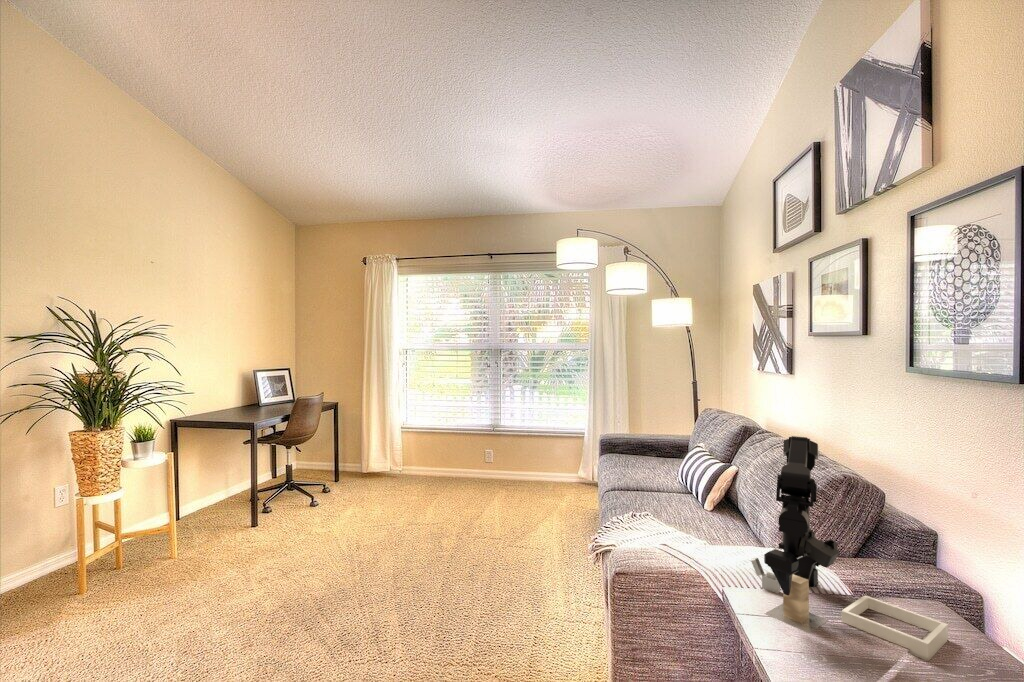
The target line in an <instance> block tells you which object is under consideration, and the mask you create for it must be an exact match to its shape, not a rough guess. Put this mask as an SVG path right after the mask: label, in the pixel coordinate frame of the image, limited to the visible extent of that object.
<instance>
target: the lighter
mask: <svg viewBox="0 0 1024 682" xmlns="http://www.w3.org/2000/svg"><path fill="white" fill-rule="evenodd" d="M750 562H751V564H752V568H753V570H754V571H755V574H756V576H757V577H758V576H759V577H760V576H761V588H762V589H764V590H766V591H767V590H768V591H769V592H772V593H774V594H780V593H781V587H780V585H779V582H778V580H777V578H776V576H775V575H774V573H773V572H769V571H767V572H766V573H765V572H764V569H763V566H762V564H761V562H760V559H759V557H755V558H752V559H751V560H750Z"/></svg>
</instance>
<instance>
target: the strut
mask: <svg viewBox="0 0 1024 682" xmlns="http://www.w3.org/2000/svg"><path fill="white" fill-rule="evenodd" d="M809 592H810V587H809V580H808V579H805V578H802V577H799V576H797V575H794V574H793V575H792V582H791V589H790V594H789V595H785V594H784V593H783V592H782V594H783V595H782V597H783V598H782V599H783V600H782V601H783V602H782V604H783V616H786V617H788V618H790V619H793V620H795V621H797V622H800V623H802V622H804V621H805V620H807V619H808V618H809V612H810V598H809V597H810V593H809Z"/></svg>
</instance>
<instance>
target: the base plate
mask: <svg viewBox="0 0 1024 682" xmlns="http://www.w3.org/2000/svg"><path fill="white" fill-rule="evenodd" d="M764 615H767V616H769V617H771V618H773V619H776V620H777V621H780V622H781V623H784V624H787V625H790V626H791V627H793V628H796V629H798V630H799V631H803V632H805V633H807V634H811V632H813V631H814V630H816V629H818V628H819V627H821V626H822V625H824V624H825V623H827V622H829V620H828V619H827V618H824V617H823V616H820V615H816V614H815V613H812V612H810V611H809V618H808V619H807V620H805V621H804V622H802V623H800V622H797V621H795V620H793V619H790V618H788V617H786V616H783V603H781V604H779V605H777V606H776V607H774V608H772V609H769V610H768V611H767V612H764Z"/></svg>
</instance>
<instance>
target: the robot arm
mask: <svg viewBox="0 0 1024 682" xmlns="http://www.w3.org/2000/svg"><path fill="white" fill-rule="evenodd" d="M782 448H783V451H782V453H783V456H784V457H786V464H785V465H783V466H782V467H781V470H780V474H779V473H778V474H777V477H776V479H777V480H776V496H775V497H776V498H775V501H776V502H781V511H780V514H779V516H778V521H777V522H778V525H779V526H778V531H779V532H781V534H782V535H781V538H782V540H781V542H780V543H778V548H779V549H776V548H774V549H772V550H770V551H767V552H766V553H764V555H763V562H764V564H765V565H767V567H769V568H770V569H771V571H772V573H773V574H774V575H775V576H776V578H777V580H778V582H779V585H780V590H781V591H782V594H783V593H784V594H785V595H789V594H790V589H791V582H792V575H793V574H794V575H797V576H799V577H802V578H805V579H808V580H809V588H814V587H816V586H818V585H819V574H818V573H819V570H818V569H817V567H819V566H821V567H824V568H828V567H830V566H833V565H834V564H835V562H836V560H837V559H836V558H838V557H839V556H840V553H839V552H840V550H839V549H838V548H839V547H838V543H837V542H836V541H835V540H834V539H832V538H829V539H828V540H825V541H824V540H823V539H818V538H817V537H816V536H817V535H816V533H815V531H814V529H812V528H811V526H810V524H811V523H810V507H811V508H812V507H814V506H815V505H814V504H815V503H817V501H818V498H817V497H818V496H817V495H818V494H817V493H818V484H817V483H816V480H815V478H812V475H811V471H813V470H814V467H815V466H816V460H819V444H818V443H817V442H815V441H813V440H811V438H809V437H804V436H795V435H791V436H788V438H787V439H784V440H783V447H782ZM780 549H781V550H780ZM782 550H783V551H782Z"/></svg>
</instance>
